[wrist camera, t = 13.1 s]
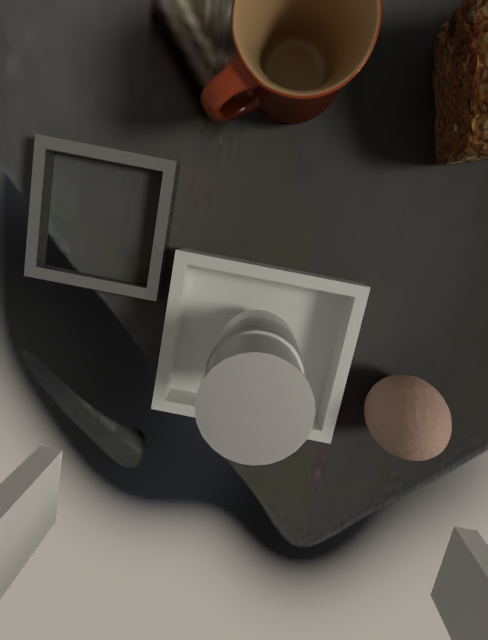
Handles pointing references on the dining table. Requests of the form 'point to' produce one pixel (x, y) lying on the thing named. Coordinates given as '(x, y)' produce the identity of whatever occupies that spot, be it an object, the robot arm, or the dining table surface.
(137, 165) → the grey square frame
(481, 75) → the bread
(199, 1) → the dining table surface
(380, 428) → the egg
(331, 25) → the mug
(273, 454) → the grey tall round piece
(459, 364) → the dining table surface
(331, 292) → the bin
